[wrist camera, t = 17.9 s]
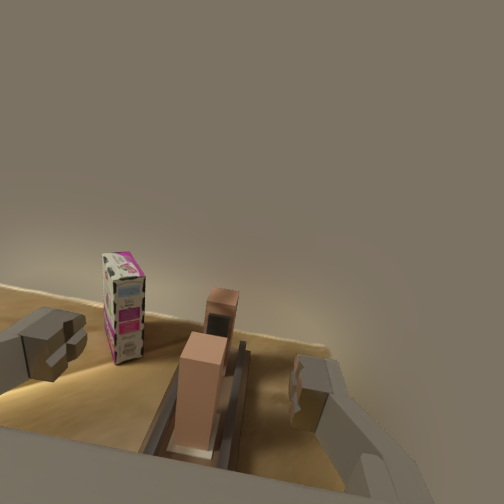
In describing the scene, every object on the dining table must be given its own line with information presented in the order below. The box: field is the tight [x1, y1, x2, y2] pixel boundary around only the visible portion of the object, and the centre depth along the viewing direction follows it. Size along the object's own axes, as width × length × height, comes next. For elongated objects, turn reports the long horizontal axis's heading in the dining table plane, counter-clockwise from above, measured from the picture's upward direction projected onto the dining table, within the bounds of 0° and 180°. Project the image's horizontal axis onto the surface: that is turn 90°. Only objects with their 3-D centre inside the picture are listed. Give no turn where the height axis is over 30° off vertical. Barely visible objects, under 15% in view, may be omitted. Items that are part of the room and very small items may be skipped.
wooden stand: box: [138, 287, 251, 472], centre depth 39 cm, size 12×22×16 cm, turn 175°
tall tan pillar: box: [173, 331, 227, 451], centre depth 33 cm, size 4×5×14 cm
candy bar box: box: [102, 252, 146, 365], centre depth 47 cm, size 11×5×16 cm, turn 35°
